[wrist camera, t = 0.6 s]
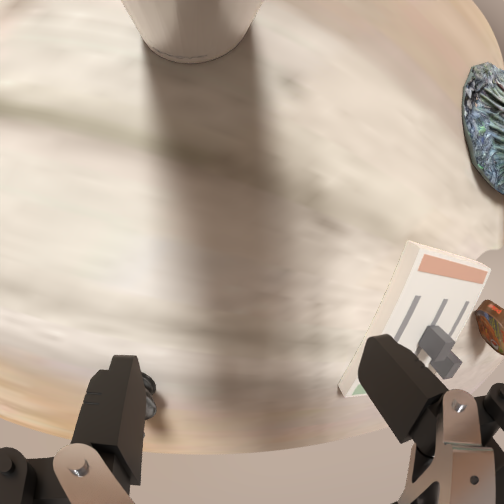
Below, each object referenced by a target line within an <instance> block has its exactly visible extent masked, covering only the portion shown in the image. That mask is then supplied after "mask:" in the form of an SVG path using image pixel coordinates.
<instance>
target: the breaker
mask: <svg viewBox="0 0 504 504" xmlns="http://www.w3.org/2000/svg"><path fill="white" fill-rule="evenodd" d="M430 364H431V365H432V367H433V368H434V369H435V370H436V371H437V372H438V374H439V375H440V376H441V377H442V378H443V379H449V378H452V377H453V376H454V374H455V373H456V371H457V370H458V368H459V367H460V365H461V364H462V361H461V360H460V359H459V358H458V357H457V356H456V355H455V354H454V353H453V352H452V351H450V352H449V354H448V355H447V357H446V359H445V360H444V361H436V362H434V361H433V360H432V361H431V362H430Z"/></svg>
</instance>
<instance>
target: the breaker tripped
mask: <svg viewBox="0 0 504 504" xmlns="http://www.w3.org/2000/svg"><path fill="white" fill-rule="evenodd" d="M418 344H419V345H420V347H421V348H422V349H423V350H424V351H425V352H426V353H427V354H428V355H429V357H430V358H431V359H432V360H433V361H434V362H436V361H444V360H445V359H446V357H447V355H448V354H449V352H450V351H451V349H452V347H453V346H454V344H455V341H454V340H453V339H452V338H451V337H450V336H449V335H448V334H447V333H446V332H445V331H444V330H443V329H442V328H441V327H439V326H428V327H427V329H426V331H425V333H424V334H423V336H422V338H421V340H420V341H419V343H418Z"/></svg>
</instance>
